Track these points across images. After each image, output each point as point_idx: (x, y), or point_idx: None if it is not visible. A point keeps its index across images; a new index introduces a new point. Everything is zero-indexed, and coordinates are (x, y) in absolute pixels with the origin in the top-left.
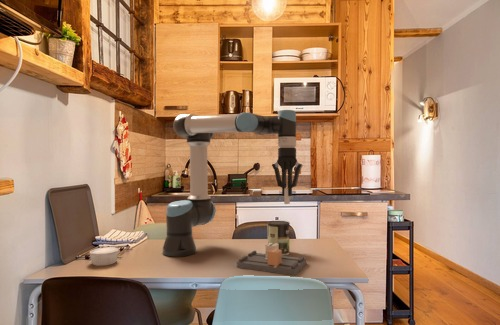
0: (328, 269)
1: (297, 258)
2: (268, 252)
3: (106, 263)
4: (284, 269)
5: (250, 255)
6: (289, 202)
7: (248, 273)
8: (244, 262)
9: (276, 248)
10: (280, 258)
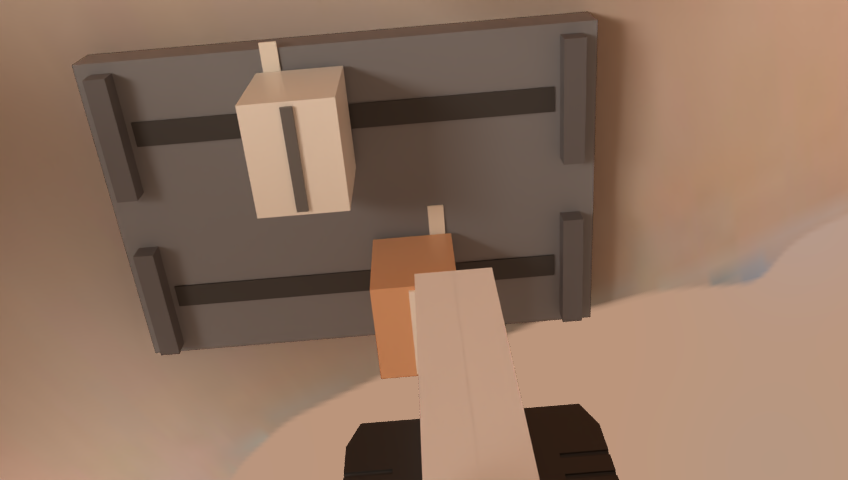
0: (783, 73)
1: (523, 52)
2: (389, 374)
3: None
4: (514, 320)
5: (141, 196)
6: (495, 294)
7: (305, 391)
8: (205, 335)
9: (346, 149)
10: None
